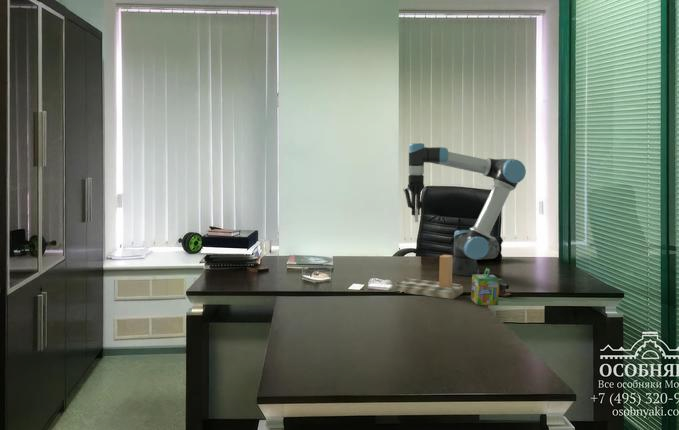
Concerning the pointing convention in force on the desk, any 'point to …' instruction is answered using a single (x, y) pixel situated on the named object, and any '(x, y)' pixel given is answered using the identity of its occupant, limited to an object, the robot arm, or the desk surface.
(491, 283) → the chalk box
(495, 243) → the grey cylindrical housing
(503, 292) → the electronic device
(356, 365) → the desk surface
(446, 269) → the tall orange upright pillar
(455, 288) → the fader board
